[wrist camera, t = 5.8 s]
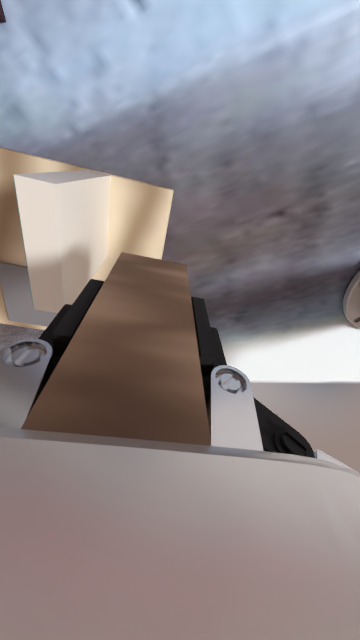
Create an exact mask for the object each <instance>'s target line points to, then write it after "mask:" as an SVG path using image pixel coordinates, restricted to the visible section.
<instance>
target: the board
mask: <svg viewBox="0 0 360 640" xmlns="http://www.w3.org/2000/svg"><path fill="white" fill-rule="evenodd" d="M80 170H91V171H95V172H99V173H103V174H107V175H111V183H110V206H109V229H108V252H107V258H106V260H105V261H104V262H103V264H102V265H101V266H100V268H99V269H98V270H97V272H96V273H95V274H94V276H93V277H92V278H91V279H95V280H101V281H104V282H105V280H106V278H107V277H108V275H109V273H110V271H111V270H112V268H113V266H114V264H115V263H116V261H117V259H118V257H119V256H120V254H121V252H125V253H130V254H135V255H140V256H145V257H150V258H155V259H160V260H161V259H162V253H163V248H164V242H165V236H166V231H167V225H168V219H169V214H170V208H171V202H172V196H173V191H174V190H173V189H169V188H165V187H161V186H157V185H153V184H149V183H145V182H141V181H137V180H133V179H128V178H124V177H120V176H116V175H112V174H108V173H104V172H100V171H96V170H92V169H88V168H84V167H80V166H75V165H71V164H67V163H63V162H59V161H55V160H51V159H47V158H43V157H39V156H35V155H31V154H27V153H22V152H18V151H14V150H10V149H6V148H2V147H0V262H6V263H11V264H16V265H22V266H27V264H26V258H25V251H24V245H23V238H22V232H21V225H20V219H19V212H18V206H17V199H16V193H15V186H14V180H13V176H14V174H29V173H46V172H63V171H80ZM81 292H82V291H81ZM78 296H79V295H78ZM76 299H77V298H76ZM76 299H75V300H76ZM74 302H75V301H74ZM74 302H73V303H74ZM0 323H2V324H9V325H15V326H22V327H28V328H35V329H41V330H46V328H47V327H46V326H40V325H34V324H27V323H21V322H15V321H9V318H8V314H7V309H6V305H5V300H4V296H3V292H2V287H1V283H0Z"/></svg>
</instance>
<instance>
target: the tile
mask: <svg viewBox="0 0 360 640" xmlns="http://www.w3.org/2000/svg"><path fill="white" fill-rule="evenodd" d="M13 180H14V186H15V193H16V199H17V206H18V212H19V219H20V225H21V232H22V238H23V245H24V251H25V258H26V264H27V271H28V277H29V284H30V290H31V296H32V303H33V307H34V309H36V310H42V311H48V312H55V313H59V311H60V310H61V309H62V307H63V306H64V305H65V304H70V305H72V303H73V302H74V301H75V299H76V298H77V297H78V295H79V294H80V293H81V291H82V290H83V289H84V287H85V286H86V285H87V283H88V282H89V280H90V279H91V278H92V277H93V276H94V274H95V273H96V272H97V270H98V269H99V268H100V266H101V265H102V264H103V262H104V261H105V260H106V258H107V252H108V229H109V206H110V183H111V175H107V174H103V173H99V172H95V171H91V170H80V171H63V172H46V173H29V174H14V176H13Z"/></svg>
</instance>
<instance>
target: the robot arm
mask: <svg viewBox="0 0 360 640" xmlns="http://www.w3.org/2000/svg"><path fill="white" fill-rule="evenodd" d="M103 284H104V281H101V280H95V279H90V280H89V282H88V283H87V285H86V286H85V287H84V289H83V290H82V292H81V293H80V294H79V296H78V297H77V299H76V300H75V302H74V303H73V304H72V305H70V304H65V305H64V306H63V307H62V309H61V310H60V311H59V313H58V314H57V315H56V316H55V318H54V319H53V320H52V322H51V323H50V324H49V326H48V327H47V328H46V330H45V331H44V332H43V333H42V335H41V336H40V337H39V339H34V338H33V339H22V340H17V341H15V342H12V343H10V344H8V345H6V346H5V347H3V348H2V349H1V350H0V640H360V473H359V472H357V471H355V470H353V469H352V468H350V467H348V466H346V465H345V464H343V463H341V462H339V461H338V460H336V459H334V458H332V457H331V456H329V455H327V454H325V453H324V452H322V451H320V450H318V449H317V450H316V451H313V450H312V448H311V446H310V444H309V443H308V442H307V440H306V439H305V438H304V437H303V436H302V435H301V434H300V433H299V432H297V431H296V430H295V429H294V428H292V427H291V426H290V425H288V424H287V423H286V422H284V421H283V420H281V418H279V417H278V416H277V415H275V414H274V413H272V411H270V410H269V409H268V408H266V407H265V406H264V405H262V404H261V403H260V402H259V401H257V400H256V399H255V398H254V397H253V393H252V388H251V384H250V381H249V379H248V378H247V376H246V375H245V374H244V373H242V372H241V371H240V370H238V369H236V368H234V367H231V366H227V364H226V360H225V357H224V353H223V349H222V345H221V342H220V338H219V334H218V331H217V329H216V328H212V327H210V324H209V320H208V316H207V311H206V307H205V302H204V299H201V298H195V297H191V301H192V309H193V316H194V323H195V330H196V338H197V345H198V352H199V359H200V367H201V374H202V381H203V388H204V396H205V403H206V410H207V418H208V425H209V432H210V439H211V446H207V445H196V444H185V443H175V442H164V441H152V440H141V439H130V438H119V437H107V436H96V435H84V434H73V433H61V432H49V431H37V430H25V429H21V427H22V425H23V424H24V422H25V420H26V418H27V417H28V415H29V413H30V411H31V410H32V408H33V406H34V404H35V403H36V401H37V399H38V397H39V396H40V394H41V392H42V390H43V389H44V387H45V385H46V383H47V382H48V380H49V378H50V376H51V375H52V373H53V371H54V369H55V368H56V366H57V364H58V362H59V361H60V359H61V357H62V355H63V354H64V352H65V350H66V348H67V347H68V345H69V343H70V341H71V340H72V338H73V336H74V334H75V333H76V331H77V329H78V327H79V326H80V324H81V322H82V320H83V319H84V317H85V315H86V313H87V312H88V310H89V308H90V306H91V305H92V303H93V301H94V299H95V298H96V296H97V294H98V292H99V291H100V289H101V287H102V285H103ZM343 311H344V314H345V316H346V318H347V319H348V320H349V321H350V322H351V323H352V324H353V325H354V326H355V327H357V328H358V329H360V271H359V272H358V273H357V274H356V275H355V276H354V278H353V279H352V281H351V282H350V284H349V286H348V288H347V290H346V292H345V295H344V298H343Z"/></svg>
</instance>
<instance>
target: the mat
mask: <svg viewBox="0 0 360 640" xmlns="http://www.w3.org/2000/svg"><path fill="white" fill-rule="evenodd" d="M0 283H1V287H2V292H3V296H4V300H5V305H6V309H7V314H8V318H9V321H15V322H21V323H27V324H34V325H40V326H46V327H48V326H49V324H50V323H51V322H52V320H53V319H54V318H55V316H56V315H57V314H58V313H55V312H48V311H42V310H36V309H34V307H33V303H32V296H31V290H30V284H29V277H28V271H27V266H22V265H16V264H11V263H6V262H0ZM72 304H73V303H72Z"/></svg>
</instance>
